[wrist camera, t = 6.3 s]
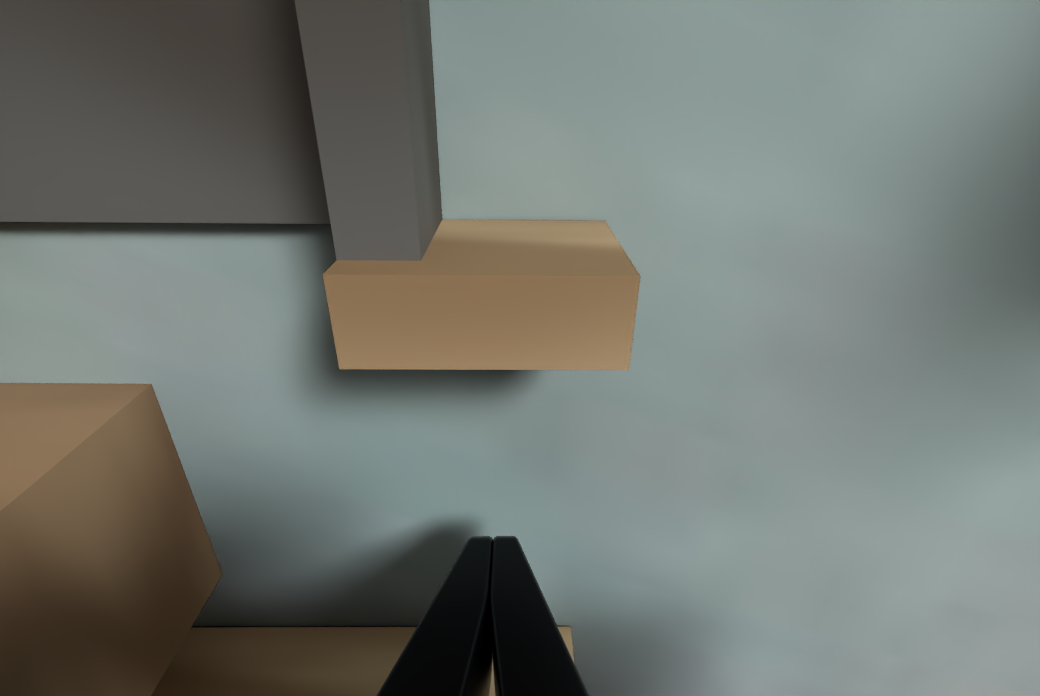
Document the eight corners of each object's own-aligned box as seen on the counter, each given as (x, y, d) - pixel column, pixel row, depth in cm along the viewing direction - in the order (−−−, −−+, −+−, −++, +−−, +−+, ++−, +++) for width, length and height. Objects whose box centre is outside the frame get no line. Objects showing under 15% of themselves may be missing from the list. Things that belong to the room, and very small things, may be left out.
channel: (567, 656, 13) (578, 775, 11) (-84, 658, 13) (-208, 780, 11) (670, -550, 5) (812, -1114, 2) (-1187, -597, 4) (-2836, -1250, 2)
